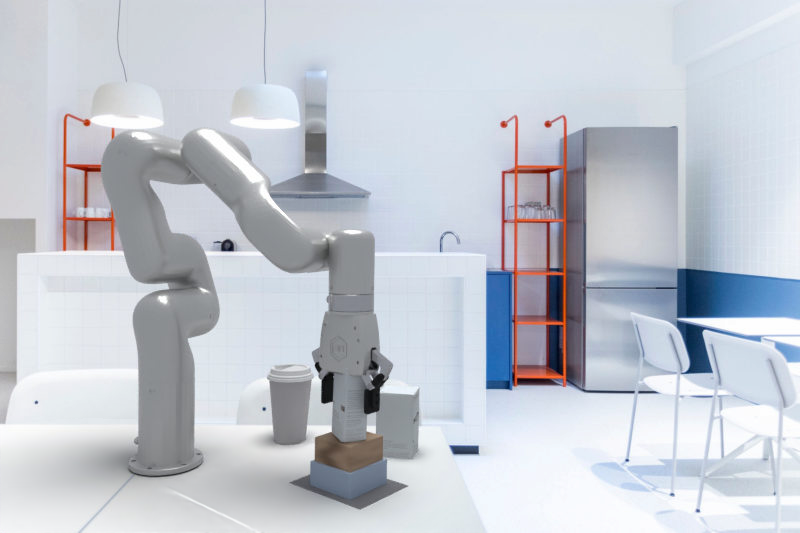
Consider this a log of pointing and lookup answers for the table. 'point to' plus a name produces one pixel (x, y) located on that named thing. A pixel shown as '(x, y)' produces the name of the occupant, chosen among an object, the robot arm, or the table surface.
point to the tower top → (348, 451)
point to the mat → (360, 500)
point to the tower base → (348, 478)
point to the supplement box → (398, 421)
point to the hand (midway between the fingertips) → (349, 407)
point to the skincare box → (349, 408)
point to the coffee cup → (290, 401)
